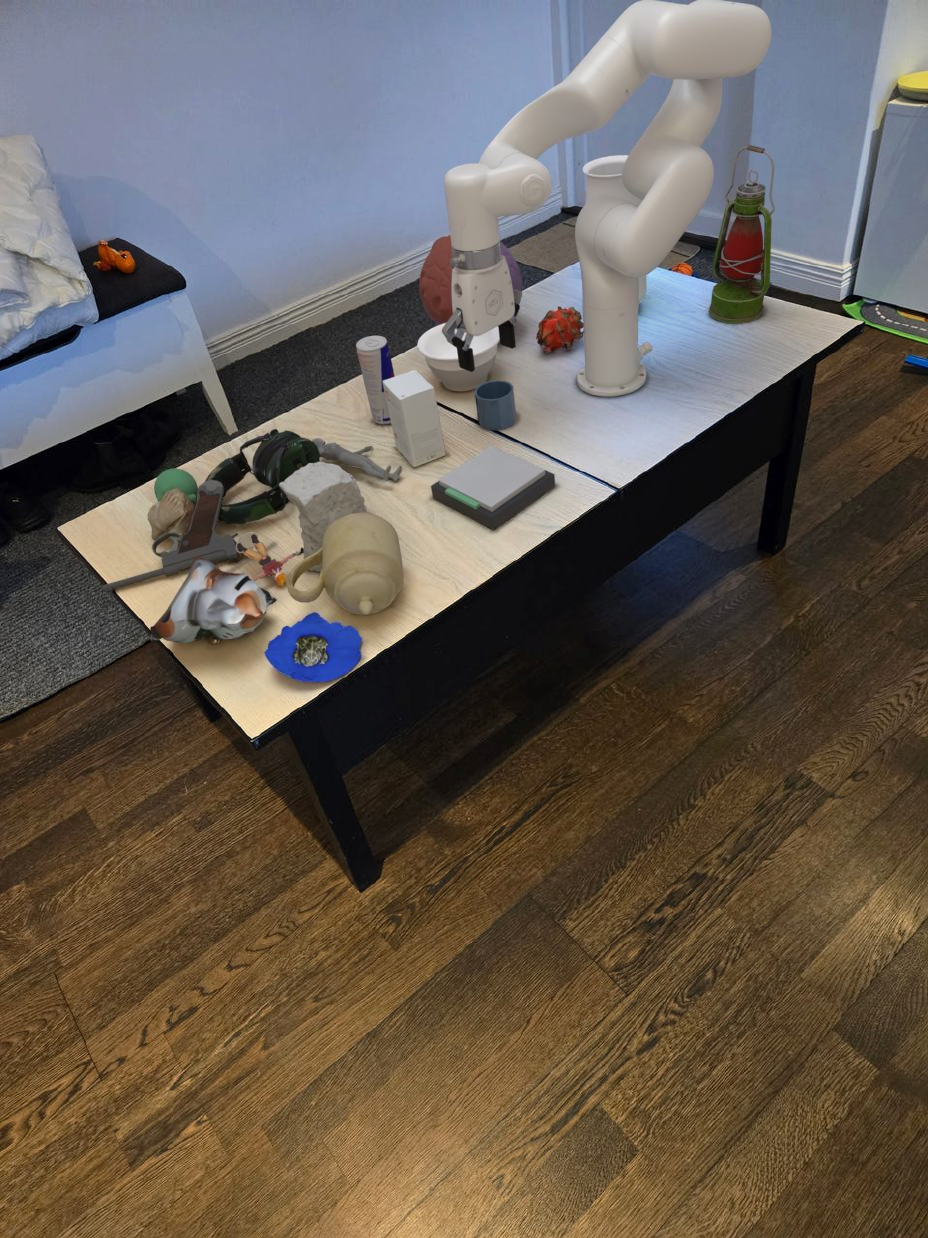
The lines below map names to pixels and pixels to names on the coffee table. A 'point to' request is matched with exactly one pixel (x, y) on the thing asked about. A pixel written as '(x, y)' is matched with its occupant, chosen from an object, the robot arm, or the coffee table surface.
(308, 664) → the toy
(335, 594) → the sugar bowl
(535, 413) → the coffee table surface
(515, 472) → the scale
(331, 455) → the action figure
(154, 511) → the seashell
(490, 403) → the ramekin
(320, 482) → the decorative stone
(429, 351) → the bowl
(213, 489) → the handgun
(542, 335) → the dragon fruit
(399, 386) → the small box
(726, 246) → the lantern
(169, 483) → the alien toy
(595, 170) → the vase
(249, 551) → the action figure
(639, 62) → the robot arm
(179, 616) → the lucky cat figurine
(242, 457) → the headphones
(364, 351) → the beverage can
